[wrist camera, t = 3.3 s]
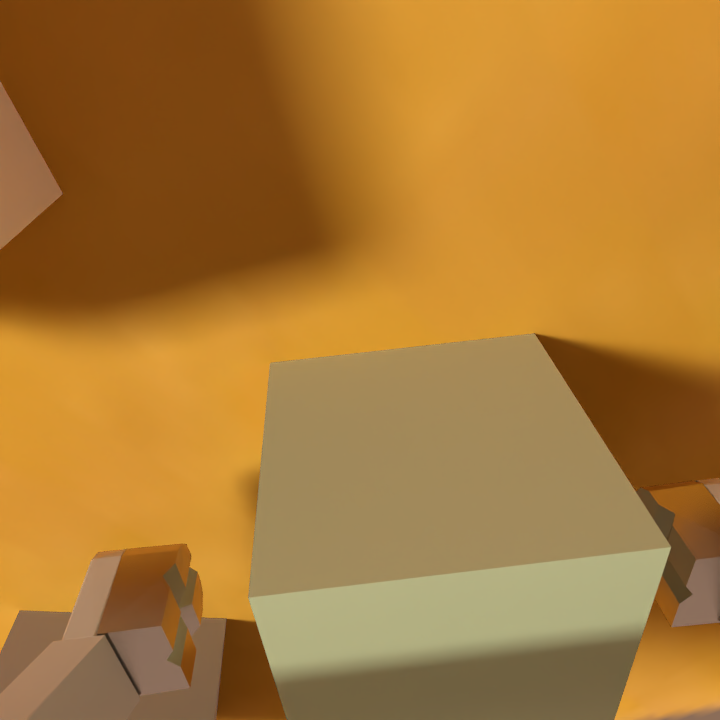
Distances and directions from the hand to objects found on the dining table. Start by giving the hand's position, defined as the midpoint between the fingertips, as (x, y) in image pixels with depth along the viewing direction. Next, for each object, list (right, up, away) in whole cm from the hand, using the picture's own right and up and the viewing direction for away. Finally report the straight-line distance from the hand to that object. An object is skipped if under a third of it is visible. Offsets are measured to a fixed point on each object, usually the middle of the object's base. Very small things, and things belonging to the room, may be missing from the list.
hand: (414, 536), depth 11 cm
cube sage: (0, +1, +2) cm, 2 cm away
